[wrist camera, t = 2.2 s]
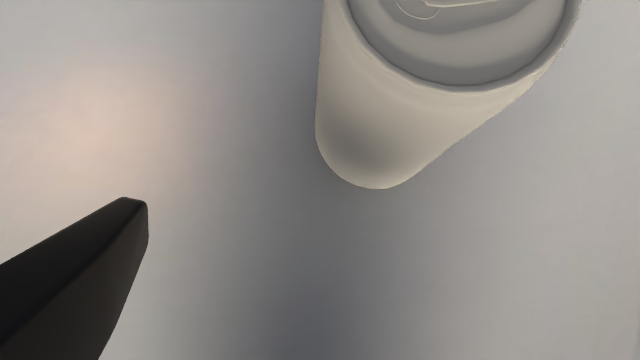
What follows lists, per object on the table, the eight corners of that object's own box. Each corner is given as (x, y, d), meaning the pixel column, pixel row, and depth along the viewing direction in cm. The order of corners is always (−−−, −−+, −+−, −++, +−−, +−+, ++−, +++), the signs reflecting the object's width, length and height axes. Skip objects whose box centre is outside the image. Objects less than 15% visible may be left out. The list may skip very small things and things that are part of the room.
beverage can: (305, 82, 22) (306, -133, 10) (423, 65, 22) (561, -162, 10) (324, 200, 21) (348, 120, 9) (445, 182, 21) (619, 81, 10)
